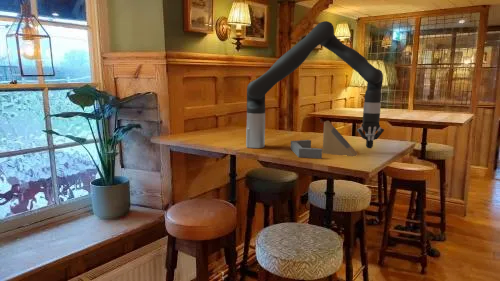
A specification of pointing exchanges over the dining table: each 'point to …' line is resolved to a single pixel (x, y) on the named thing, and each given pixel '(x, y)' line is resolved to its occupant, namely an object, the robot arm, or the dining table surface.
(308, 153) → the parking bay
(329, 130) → the sandwich container
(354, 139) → the dining table surface
